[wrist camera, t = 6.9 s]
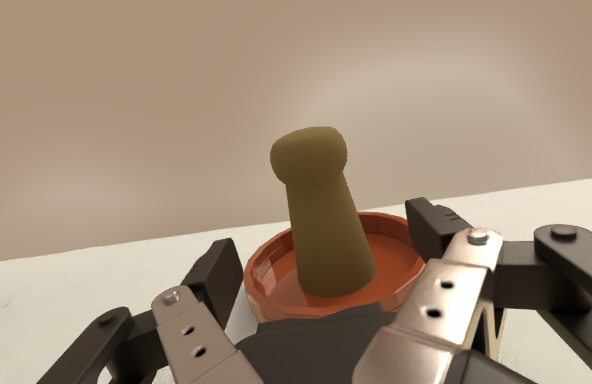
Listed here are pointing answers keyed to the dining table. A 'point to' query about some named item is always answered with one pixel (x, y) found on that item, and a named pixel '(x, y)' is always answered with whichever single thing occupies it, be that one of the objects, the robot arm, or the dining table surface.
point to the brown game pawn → (322, 213)
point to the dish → (301, 305)
